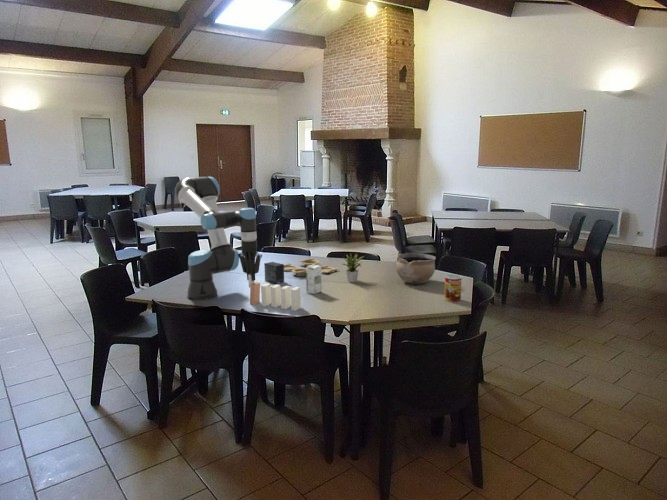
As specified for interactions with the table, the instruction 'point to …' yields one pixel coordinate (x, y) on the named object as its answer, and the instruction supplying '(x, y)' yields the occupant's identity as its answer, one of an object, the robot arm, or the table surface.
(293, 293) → the domino
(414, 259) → the ceramic bowl
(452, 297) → the canned food
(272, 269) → the small box
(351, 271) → the house plant
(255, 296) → the domino
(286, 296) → the domino
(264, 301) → the domino
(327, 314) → the table surface
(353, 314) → the table surface
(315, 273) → the syrup box
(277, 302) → the domino
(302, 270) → the tableware set
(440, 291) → the table surface
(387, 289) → the table surface
